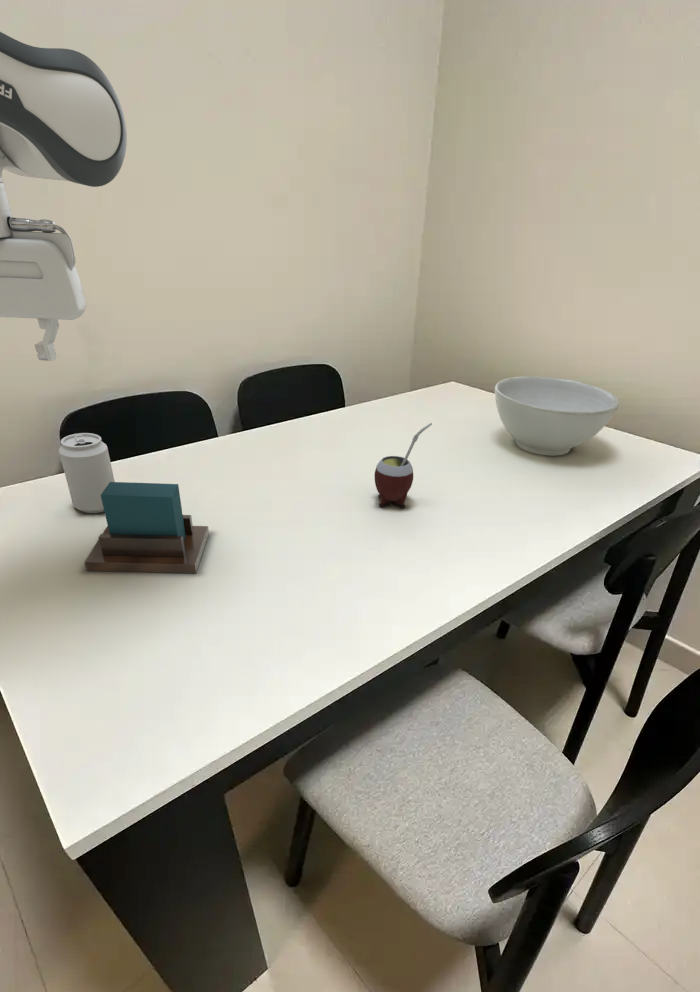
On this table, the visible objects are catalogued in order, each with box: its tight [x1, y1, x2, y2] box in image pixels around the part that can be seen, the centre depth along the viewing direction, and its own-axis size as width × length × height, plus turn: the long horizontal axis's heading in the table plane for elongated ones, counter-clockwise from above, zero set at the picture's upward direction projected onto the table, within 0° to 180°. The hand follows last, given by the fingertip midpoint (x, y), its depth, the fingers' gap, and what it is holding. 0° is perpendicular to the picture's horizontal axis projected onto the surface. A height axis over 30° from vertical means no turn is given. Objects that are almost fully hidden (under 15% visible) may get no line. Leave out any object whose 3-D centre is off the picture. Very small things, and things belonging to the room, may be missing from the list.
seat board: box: [84, 514, 210, 574], centre depth 89 cm, size 16×12×4 cm
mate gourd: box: [373, 422, 433, 509], centre depth 104 cm, size 8×8×15 cm
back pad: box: [101, 481, 186, 541], centre depth 87 cm, size 10×4×9 cm, turn 92°
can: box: [58, 432, 116, 514], centre depth 98 cm, size 8×8×12 cm
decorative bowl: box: [494, 375, 620, 457], centre depth 132 cm, size 27×27×12 cm
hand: (7, 357), depth 69 cm, fingers open, 8 cm apart
